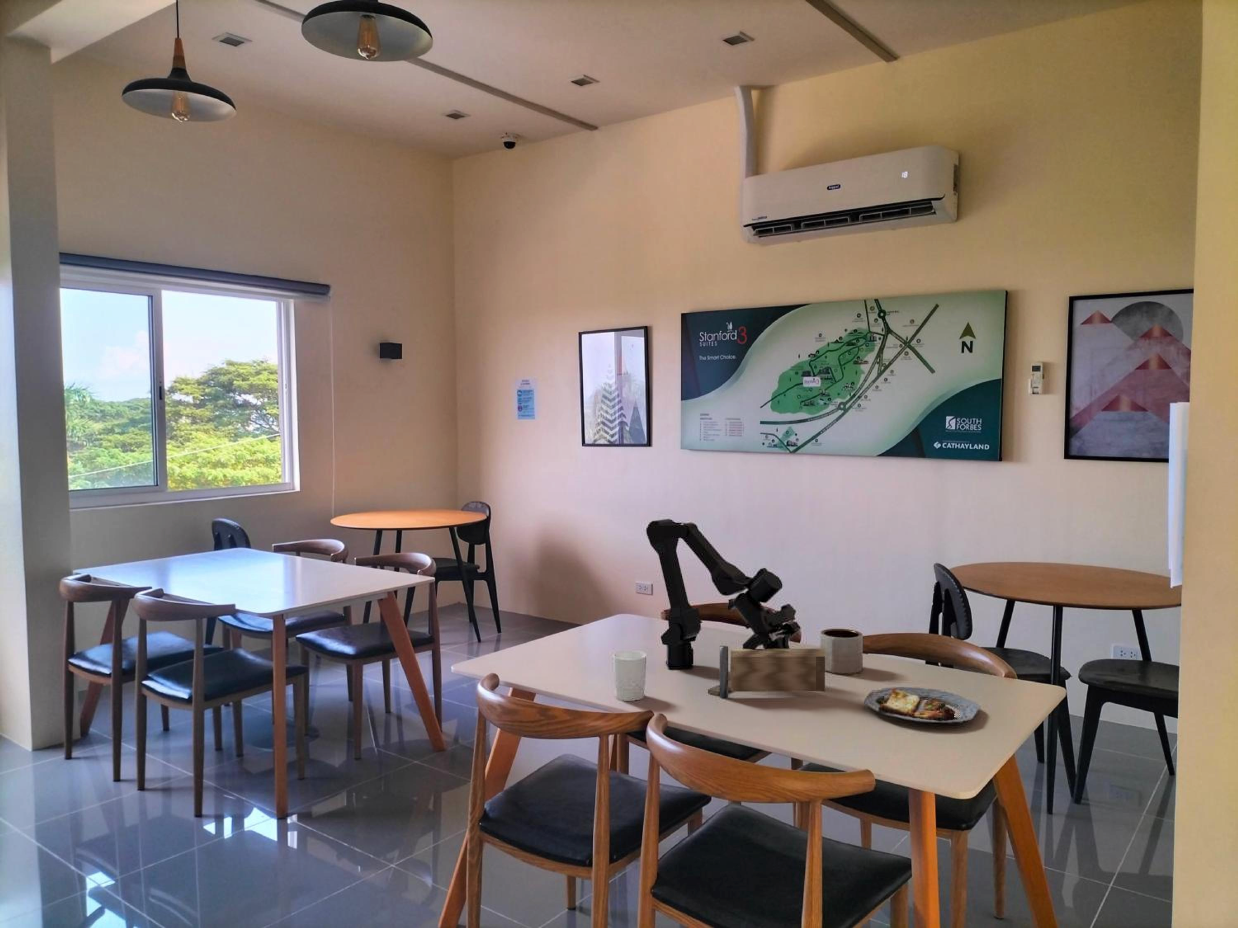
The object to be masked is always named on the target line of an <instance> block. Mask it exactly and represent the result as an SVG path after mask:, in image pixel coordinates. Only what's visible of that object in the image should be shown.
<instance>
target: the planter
mask: <svg viewBox="0 0 1238 928" xmlns="http://www.w3.org/2000/svg"><path fill="white" fill-rule="evenodd" d="M819 634H820V639H819V640H820V641H819V642H820V643H819V646H820V647H819V649H824V650H825V672H827V673H831V674H835V675H855V673H856V674H858V673H860V672H861V671H862V670H863V667H864V666H863V664H864V663H863V659H864V658H863V656H864V654H863V652H864V651H863V645H864V644H863V642H864V641H863V639H864V638H863V633H862V632H860V631H857V630H853V629H849V628H848V629H847V628H827V629H823V630H821V631H820V633H819Z"/></svg>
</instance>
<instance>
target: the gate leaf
mask: <svg viewBox="0 0 1238 928" xmlns="http://www.w3.org/2000/svg"><path fill="white" fill-rule="evenodd" d="M729 650H730V651H729V652H730V661H729V662H730V664H729V666H730V671H729V672H730V676H729V678H730V680H729V681H730V690H731V691H730V692H731V693H732V692H734V693H735V692H742V693H743V692H744V693H745V692H754V693H755V692H826V671H825V650H824V649H820V648H790V649H763V648H756V649H754V650H751V649H743V648H730V649H729Z"/></svg>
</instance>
